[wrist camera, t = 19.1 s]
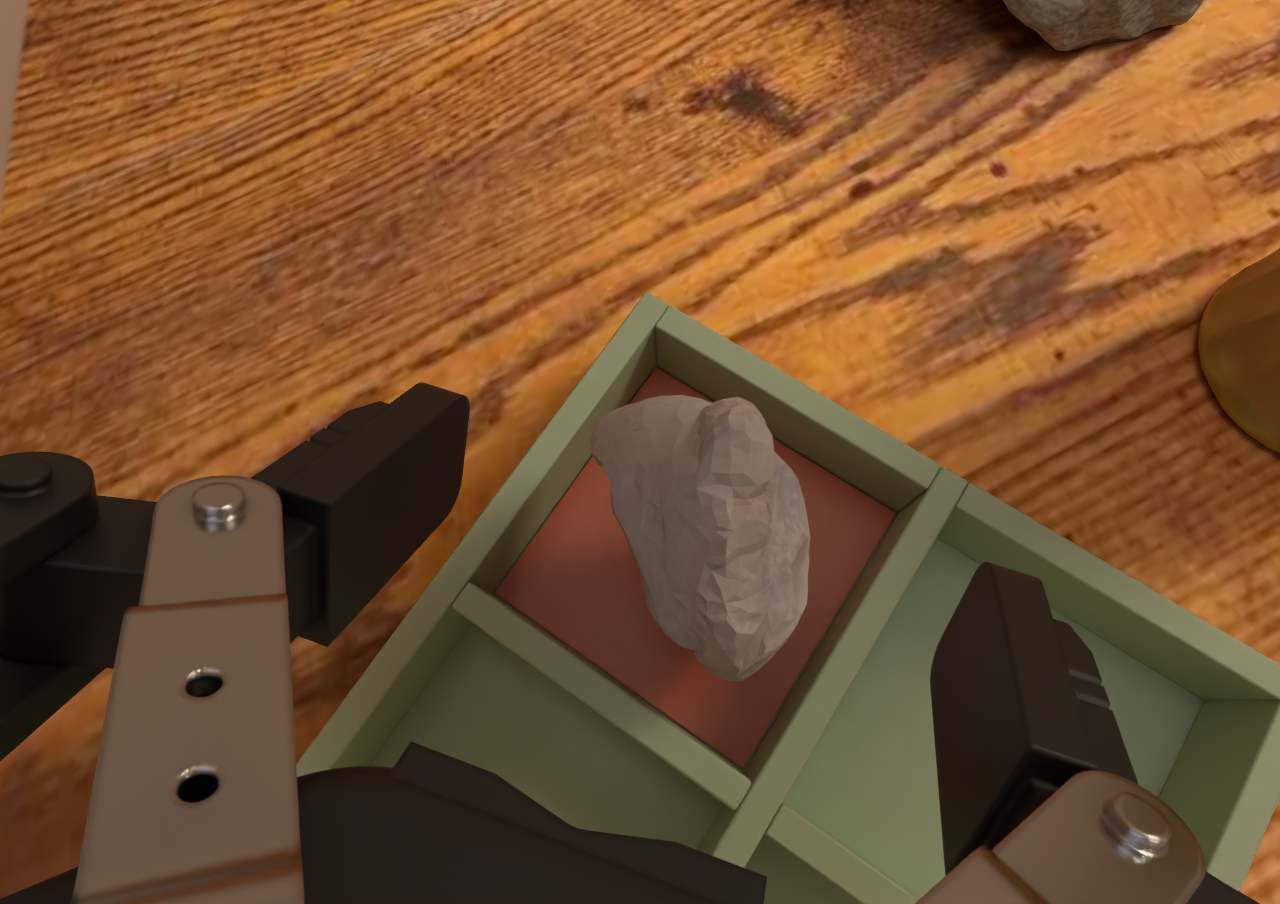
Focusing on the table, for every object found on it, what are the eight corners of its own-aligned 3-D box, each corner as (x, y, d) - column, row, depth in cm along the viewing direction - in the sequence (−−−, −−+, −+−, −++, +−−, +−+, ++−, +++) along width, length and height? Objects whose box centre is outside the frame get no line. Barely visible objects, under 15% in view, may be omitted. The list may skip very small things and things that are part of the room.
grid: (251, 891, 19) (173, 928, 16) (649, 343, 23) (646, 290, 20) (883, 1435, 16) (933, 1607, 13) (1226, 692, 20) (1327, 691, 17)
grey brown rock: (589, 492, 21) (521, 321, 12) (709, 438, 21) (739, 228, 12) (685, 704, 19) (696, 708, 10) (813, 642, 20) (946, 590, 10)
